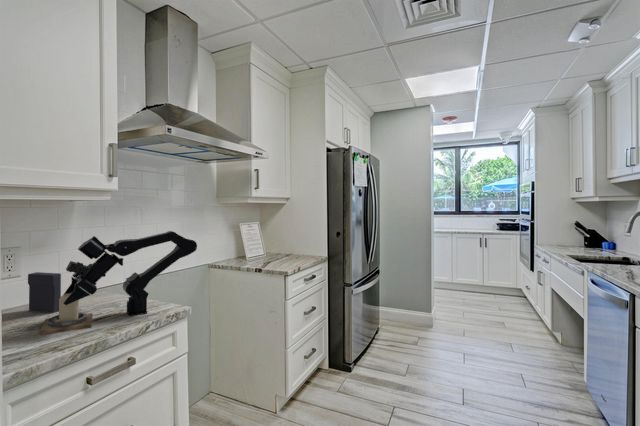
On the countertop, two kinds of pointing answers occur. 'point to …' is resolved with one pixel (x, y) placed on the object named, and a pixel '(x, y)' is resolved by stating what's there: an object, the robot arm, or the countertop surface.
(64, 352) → the countertop surface
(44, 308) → the navy upright box
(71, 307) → the candle
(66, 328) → the dock
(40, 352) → the countertop surface
